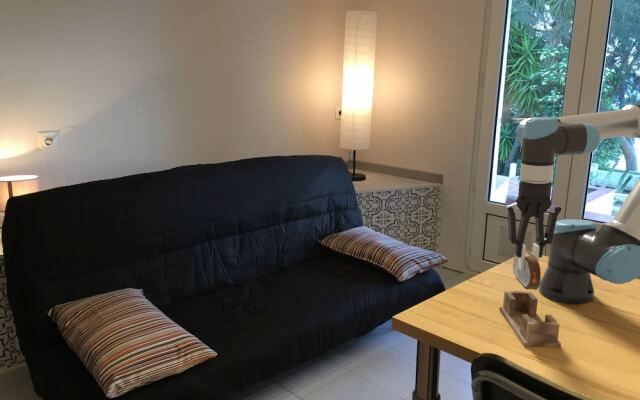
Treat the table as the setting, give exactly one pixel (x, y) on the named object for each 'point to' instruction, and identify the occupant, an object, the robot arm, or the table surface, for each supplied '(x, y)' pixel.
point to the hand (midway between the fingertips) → (527, 268)
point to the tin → (528, 271)
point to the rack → (529, 320)
